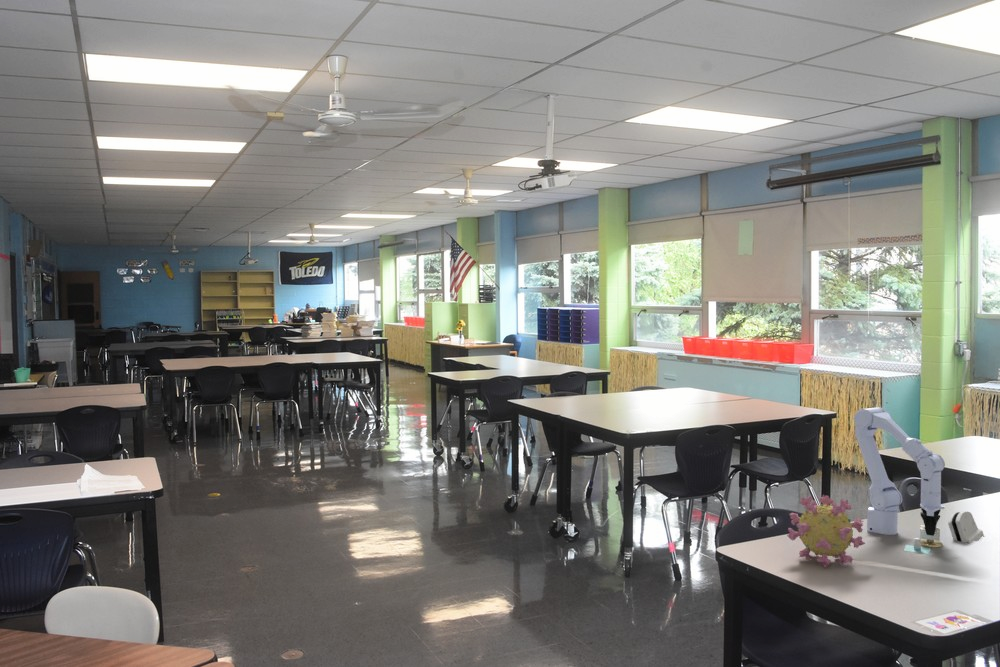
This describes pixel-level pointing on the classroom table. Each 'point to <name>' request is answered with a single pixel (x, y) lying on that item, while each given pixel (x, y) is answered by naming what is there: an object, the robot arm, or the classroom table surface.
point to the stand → (917, 547)
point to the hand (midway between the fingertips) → (930, 532)
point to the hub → (931, 543)
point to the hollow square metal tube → (930, 537)
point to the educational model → (825, 530)
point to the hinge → (964, 527)
